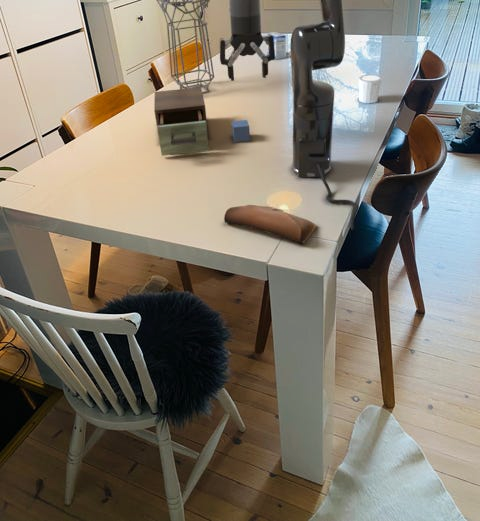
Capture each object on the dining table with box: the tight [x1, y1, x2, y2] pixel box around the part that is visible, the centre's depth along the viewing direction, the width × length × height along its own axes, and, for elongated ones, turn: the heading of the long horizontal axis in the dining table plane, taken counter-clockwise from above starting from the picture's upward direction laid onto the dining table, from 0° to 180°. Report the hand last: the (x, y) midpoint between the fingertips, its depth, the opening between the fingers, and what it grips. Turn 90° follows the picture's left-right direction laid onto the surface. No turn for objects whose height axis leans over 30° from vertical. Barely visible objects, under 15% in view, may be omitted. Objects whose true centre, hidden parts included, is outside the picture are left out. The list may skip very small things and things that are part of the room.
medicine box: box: [266, 31, 287, 60], centre depth 203 cm, size 8×4×9 cm, turn 25°
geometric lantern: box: [155, 0, 215, 94], centre depth 167 cm, size 16×16×35 cm
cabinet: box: [153, 86, 209, 138], centre depth 146 cm, size 16×14×10 cm
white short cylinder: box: [358, 74, 382, 104], centre depth 158 cm, size 7×7×7 cm
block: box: [231, 119, 251, 143], centre depth 141 cm, size 4×4×4 cm
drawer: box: [156, 109, 210, 157], centre depth 136 cm, size 19×13×8 cm, turn 7°
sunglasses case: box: [223, 204, 317, 244], centre depth 104 cm, size 18×7×7 cm
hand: (248, 78), depth 135 cm, fingers open, 8 cm apart
